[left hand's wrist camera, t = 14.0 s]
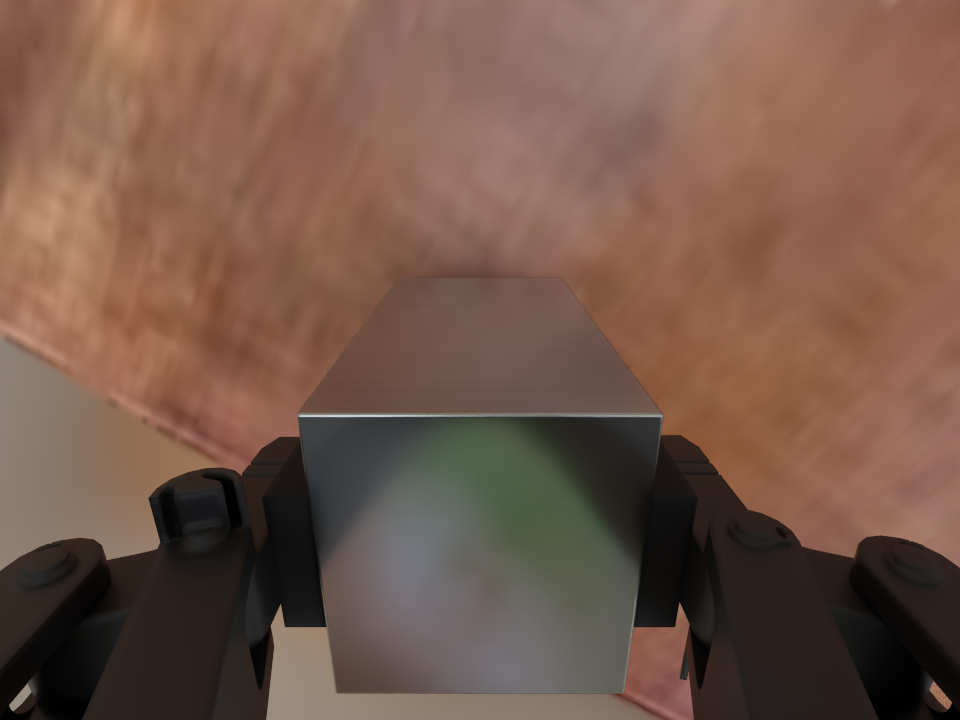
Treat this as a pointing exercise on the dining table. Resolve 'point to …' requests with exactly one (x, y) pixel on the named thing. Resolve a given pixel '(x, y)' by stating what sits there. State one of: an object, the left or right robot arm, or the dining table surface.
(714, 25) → the dining table surface
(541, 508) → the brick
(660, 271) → the dining table surface
